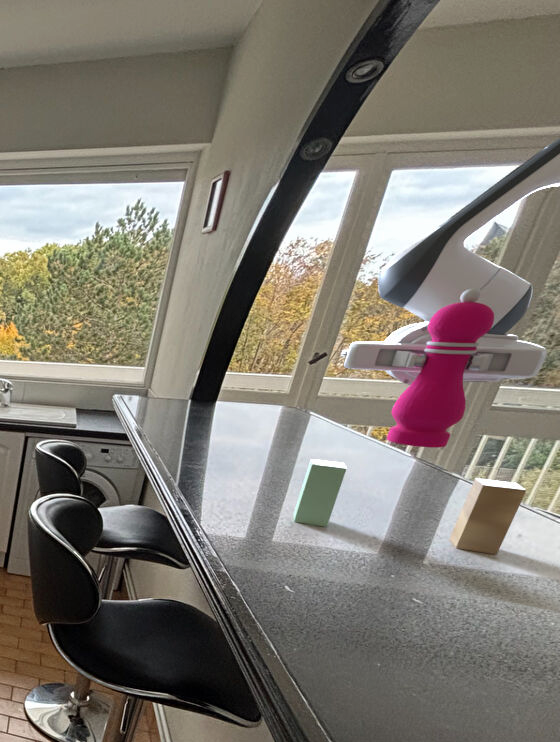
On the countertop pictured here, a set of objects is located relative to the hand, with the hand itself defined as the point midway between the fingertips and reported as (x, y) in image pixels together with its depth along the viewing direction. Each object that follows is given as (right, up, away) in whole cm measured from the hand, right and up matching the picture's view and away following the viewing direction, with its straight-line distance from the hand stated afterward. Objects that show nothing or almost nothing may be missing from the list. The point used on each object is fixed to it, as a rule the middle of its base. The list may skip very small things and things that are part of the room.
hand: (447, 362), depth 78 cm
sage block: (-9, -21, +12) cm, 25 cm away
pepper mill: (0, -10, +5) cm, 11 cm away
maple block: (+6, -25, +3) cm, 25 cm away
